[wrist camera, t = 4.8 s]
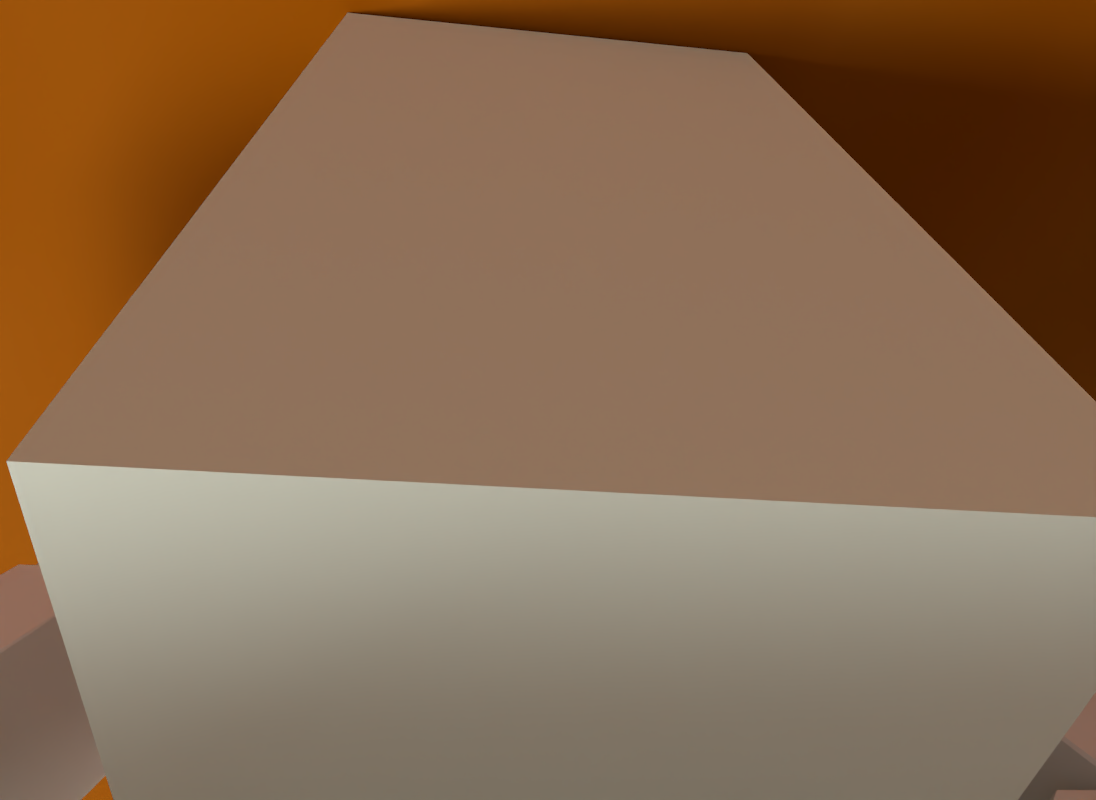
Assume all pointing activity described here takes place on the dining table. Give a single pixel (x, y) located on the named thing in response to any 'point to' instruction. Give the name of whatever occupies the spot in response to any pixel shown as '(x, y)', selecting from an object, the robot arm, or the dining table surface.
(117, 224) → the dining table surface
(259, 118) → the dining table surface
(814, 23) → the dining table surface
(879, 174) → the dining table surface
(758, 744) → the carton
